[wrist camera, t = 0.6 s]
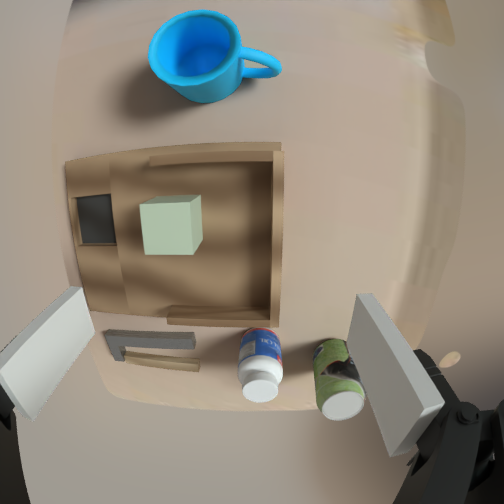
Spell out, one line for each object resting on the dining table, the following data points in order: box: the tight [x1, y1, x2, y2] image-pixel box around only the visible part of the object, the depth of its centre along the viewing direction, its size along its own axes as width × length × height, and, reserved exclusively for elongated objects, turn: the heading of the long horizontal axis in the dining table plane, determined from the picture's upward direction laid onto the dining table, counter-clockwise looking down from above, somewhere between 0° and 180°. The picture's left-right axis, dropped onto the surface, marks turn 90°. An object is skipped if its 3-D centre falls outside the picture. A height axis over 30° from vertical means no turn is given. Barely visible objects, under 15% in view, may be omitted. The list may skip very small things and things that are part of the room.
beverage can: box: [313, 339, 366, 420], centre depth 32 cm, size 6×7×12 cm
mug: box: [148, 10, 282, 103], centre depth 22 cm, size 12×8×8 cm
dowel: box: [124, 351, 200, 372], centre depth 38 cm, size 2×12×2 cm, turn 89°
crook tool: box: [105, 329, 196, 361], centre depth 37 cm, size 5×14×2 cm, turn 94°
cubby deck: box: [65, 142, 284, 328], centre depth 30 cm, size 21×26×4 cm
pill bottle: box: [238, 327, 283, 402], centre depth 32 cm, size 6×5×10 cm
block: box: [140, 195, 203, 255], centre depth 27 cm, size 5×5×5 cm
